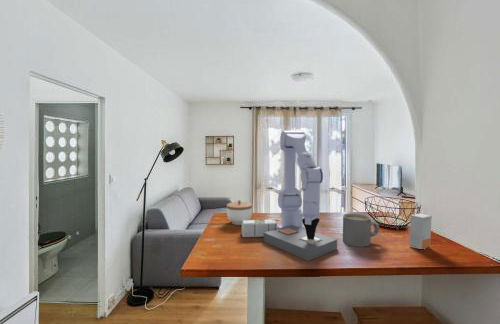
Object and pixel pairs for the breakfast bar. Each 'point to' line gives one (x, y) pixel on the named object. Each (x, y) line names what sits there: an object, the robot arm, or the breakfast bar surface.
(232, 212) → the lidded bowl
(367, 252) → the breakfast bar surface
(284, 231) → the terracotta key
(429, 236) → the skincare box
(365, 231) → the coffee mug
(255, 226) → the syrup box
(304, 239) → the cream key
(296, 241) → the key board
